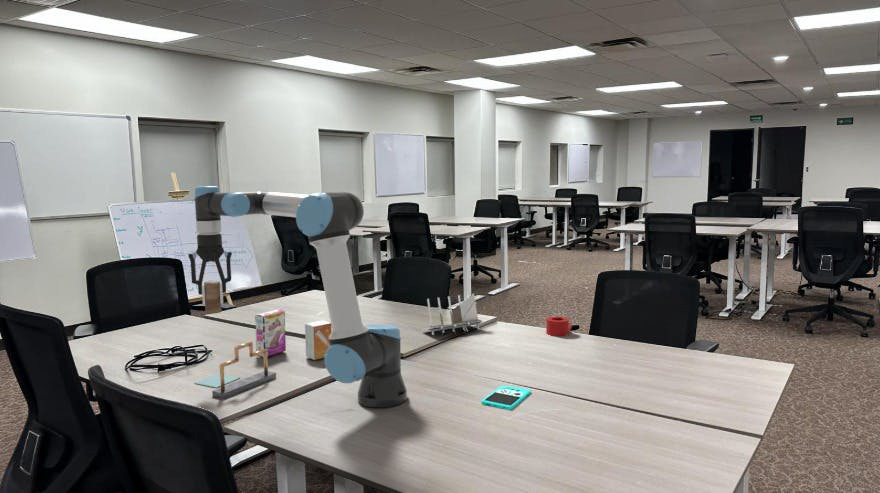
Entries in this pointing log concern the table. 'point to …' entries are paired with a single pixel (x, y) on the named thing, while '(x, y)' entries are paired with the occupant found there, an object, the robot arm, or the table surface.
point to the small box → (317, 339)
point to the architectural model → (457, 315)
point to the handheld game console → (506, 397)
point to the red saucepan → (558, 326)
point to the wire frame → (247, 382)
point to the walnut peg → (212, 297)
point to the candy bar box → (270, 332)
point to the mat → (216, 381)
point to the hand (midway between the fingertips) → (213, 303)
